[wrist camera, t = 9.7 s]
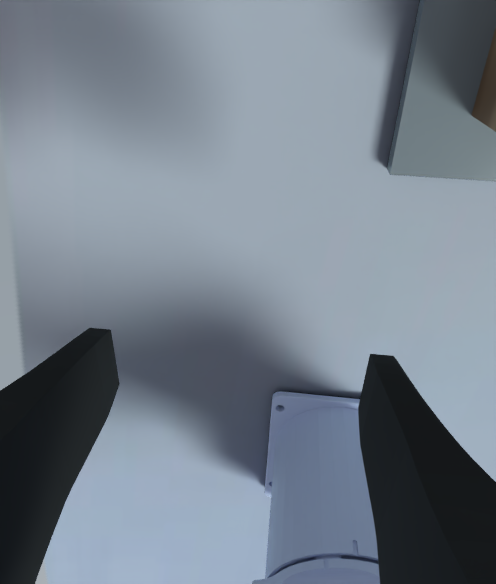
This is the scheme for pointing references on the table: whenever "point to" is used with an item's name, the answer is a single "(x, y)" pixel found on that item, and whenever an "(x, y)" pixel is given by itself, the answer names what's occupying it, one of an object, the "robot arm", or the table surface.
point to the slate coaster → (445, 94)
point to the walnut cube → (487, 91)
